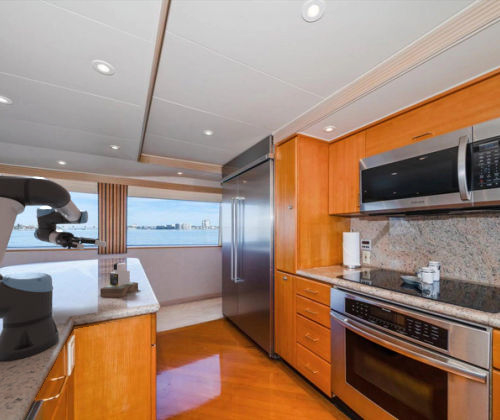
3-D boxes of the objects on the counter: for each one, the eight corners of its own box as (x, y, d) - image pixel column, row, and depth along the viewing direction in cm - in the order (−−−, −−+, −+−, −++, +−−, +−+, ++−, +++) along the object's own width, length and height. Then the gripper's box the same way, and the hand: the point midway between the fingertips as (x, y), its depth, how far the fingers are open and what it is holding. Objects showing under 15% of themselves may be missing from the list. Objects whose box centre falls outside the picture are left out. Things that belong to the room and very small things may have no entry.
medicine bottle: (109, 285, 129) (109, 263, 130) (121, 282, 136) (121, 261, 136) (117, 286, 126) (117, 264, 126) (130, 283, 132) (129, 262, 133)
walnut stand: (121, 297, 123) (121, 288, 123) (100, 296, 125) (100, 287, 125) (138, 289, 136) (138, 281, 136) (118, 288, 138) (118, 281, 138)
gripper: (82, 242, 139) (112, 250, 134) (35, 247, 114) (71, 256, 110) (84, 230, 139) (114, 237, 134) (38, 232, 114) (73, 241, 110)
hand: (95, 246), depth 122 cm, fingers open, 13 cm apart
